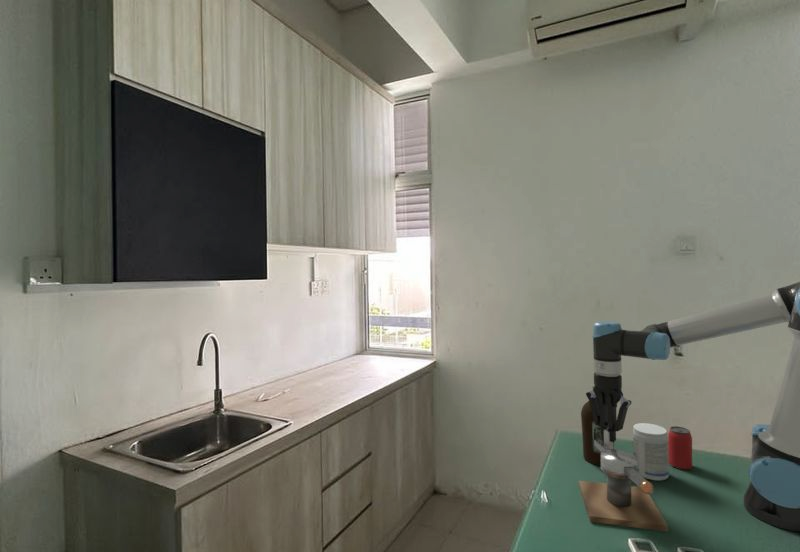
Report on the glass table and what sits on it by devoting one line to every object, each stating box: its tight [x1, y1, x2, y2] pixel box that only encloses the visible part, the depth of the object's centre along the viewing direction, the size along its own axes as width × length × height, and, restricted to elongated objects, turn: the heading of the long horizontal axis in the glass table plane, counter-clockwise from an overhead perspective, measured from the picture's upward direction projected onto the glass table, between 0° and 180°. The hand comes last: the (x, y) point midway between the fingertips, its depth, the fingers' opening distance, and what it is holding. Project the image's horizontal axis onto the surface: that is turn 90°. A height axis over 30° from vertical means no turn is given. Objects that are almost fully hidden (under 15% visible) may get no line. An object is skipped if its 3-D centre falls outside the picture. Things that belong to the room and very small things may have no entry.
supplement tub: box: [632, 422, 670, 481], centre depth 131 cm, size 10×10×15 cm
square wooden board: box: [578, 474, 669, 532], centre depth 115 cm, size 18×18×10 cm
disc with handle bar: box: [594, 439, 655, 495], centre depth 113 cm, size 27×9×4 cm, turn 0°
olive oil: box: [580, 385, 615, 466], centre depth 141 cm, size 11×11×25 cm
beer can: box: [667, 425, 693, 470], centre depth 136 cm, size 7×7×12 cm
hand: (608, 450), depth 125 cm, fingers closed
